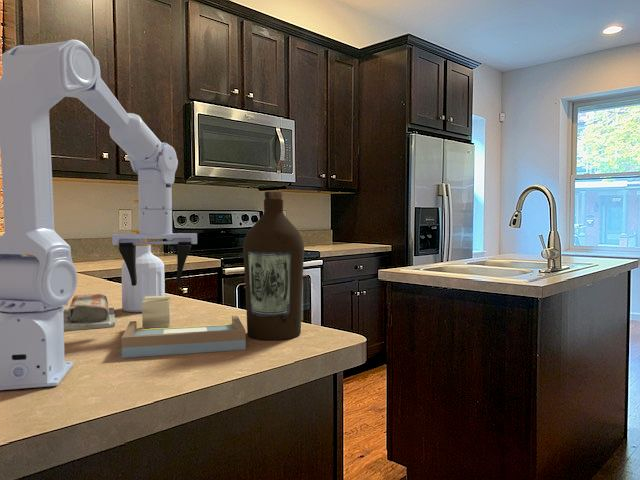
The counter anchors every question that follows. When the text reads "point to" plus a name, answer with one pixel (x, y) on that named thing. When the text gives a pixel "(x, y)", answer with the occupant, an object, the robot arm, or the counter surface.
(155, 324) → the beige block with rod
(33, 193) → the robot arm
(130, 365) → the counter surface
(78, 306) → the packaged product
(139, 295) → the soap bottle
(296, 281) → the olive oil
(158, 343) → the dock
